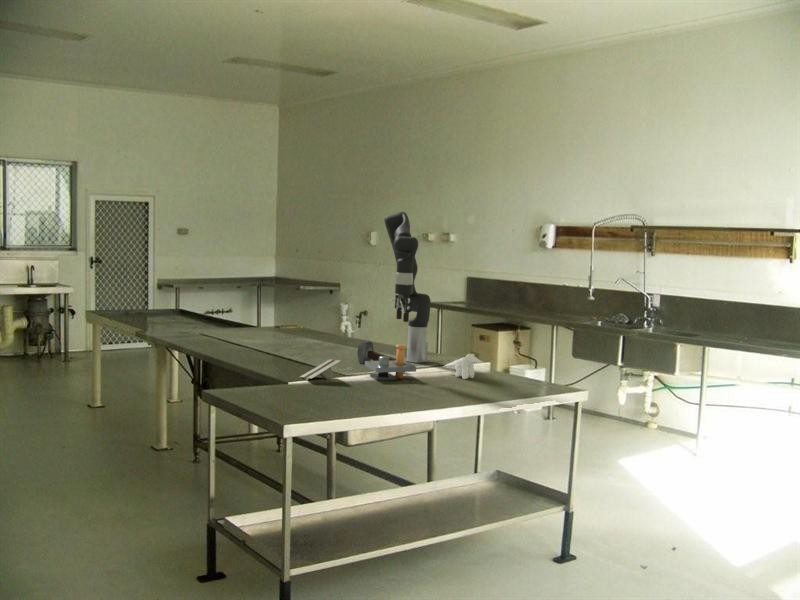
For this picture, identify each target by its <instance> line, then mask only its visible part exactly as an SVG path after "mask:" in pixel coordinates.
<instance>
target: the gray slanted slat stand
mask: <svg viewBox="0 0 800 600" xmlns="http://www.w3.org/2000/svg"><path fill="white" fill-rule="evenodd" d="M341 361H342V360H340V359H336V360H334V359H330V358H328V360H326V361H324V362H323V363H321V364H319V365H317V366H316V367H314V368H312V369H311V370H309V371H307V372H305V373H303V374H302V375H300V376H299V378H303V379H304V380H306V381H307V380H310V379H313V378H315V377H316V376H318V375H320V376H321V377H322V378H323V379H324V380H329V379H330V378H332V377H334V376H335V374H334V373H335V372H334V371H333V369H332V367H333V366H335V365H336V364H338V363H339V362H341Z"/></svg>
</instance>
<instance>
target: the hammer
mask: <svg viewBox="0 0 800 600" xmlns="http://www.w3.org/2000/svg"><path fill="white" fill-rule="evenodd" d="M356 353H357V360H358V363H359V364H363V365H365V361H379V357H380V356H386V357H389V361H396V358H394V357H393V356H392V357H391V356H388V355H385V354H383V353H380V352H377V351H374V344H373V341H372V340H370V339H361V341H360V342H359V344H358V347H357V352H356ZM404 373H405V372H403V374H404Z"/></svg>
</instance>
